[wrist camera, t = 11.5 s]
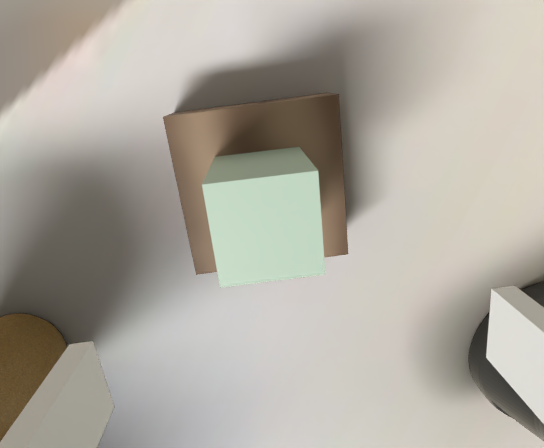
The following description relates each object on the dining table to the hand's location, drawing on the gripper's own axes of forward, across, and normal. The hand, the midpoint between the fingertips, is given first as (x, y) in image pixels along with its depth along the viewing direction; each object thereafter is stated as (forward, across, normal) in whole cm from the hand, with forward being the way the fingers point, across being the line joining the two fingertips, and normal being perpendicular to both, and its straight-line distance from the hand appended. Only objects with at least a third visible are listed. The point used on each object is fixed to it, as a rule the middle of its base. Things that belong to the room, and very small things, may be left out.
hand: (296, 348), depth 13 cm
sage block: (+17, +1, -1) cm, 17 cm away
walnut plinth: (+21, +1, -1) cm, 21 cm away
